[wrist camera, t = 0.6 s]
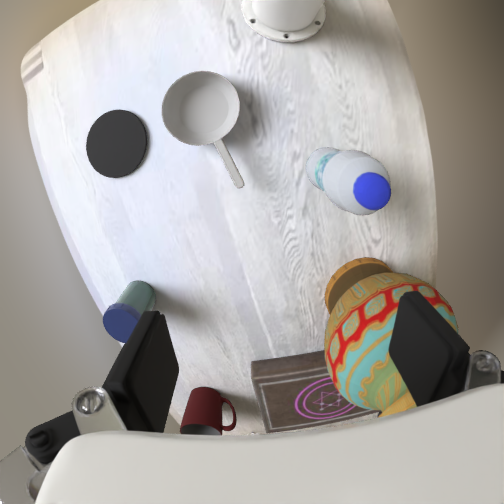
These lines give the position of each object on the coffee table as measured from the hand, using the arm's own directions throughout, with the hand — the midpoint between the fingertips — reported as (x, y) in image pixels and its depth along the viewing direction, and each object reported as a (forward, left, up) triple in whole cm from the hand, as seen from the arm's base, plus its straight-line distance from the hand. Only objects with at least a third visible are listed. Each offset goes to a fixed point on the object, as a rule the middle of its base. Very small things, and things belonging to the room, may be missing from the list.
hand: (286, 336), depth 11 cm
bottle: (-3, +10, -35) cm, 36 cm away
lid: (+19, -22, -25) cm, 38 cm away
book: (+44, +14, -35) cm, 57 cm away
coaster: (-8, -22, -34) cm, 42 cm away
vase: (+20, +18, -35) cm, 43 cm away
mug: (+47, -12, -35) cm, 59 cm away
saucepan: (-8, -6, -35) cm, 36 cm away
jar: (+19, -22, -34) cm, 45 cm away
